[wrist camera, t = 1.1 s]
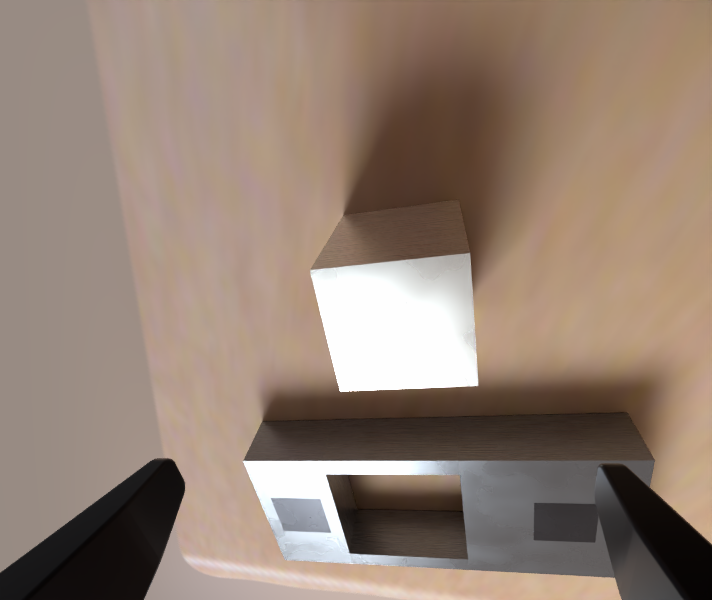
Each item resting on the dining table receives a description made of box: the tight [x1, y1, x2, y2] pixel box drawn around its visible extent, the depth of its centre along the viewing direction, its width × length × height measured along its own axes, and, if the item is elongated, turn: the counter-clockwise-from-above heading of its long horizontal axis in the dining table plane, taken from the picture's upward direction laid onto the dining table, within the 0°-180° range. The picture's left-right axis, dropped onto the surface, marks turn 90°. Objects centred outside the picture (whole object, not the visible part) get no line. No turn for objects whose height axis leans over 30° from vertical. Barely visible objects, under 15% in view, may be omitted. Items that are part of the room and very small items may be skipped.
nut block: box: [310, 200, 478, 391], centre depth 17 cm, size 5×5×6 cm
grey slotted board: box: [243, 413, 655, 578], centre depth 24 cm, size 20×9×3 cm, turn 100°
